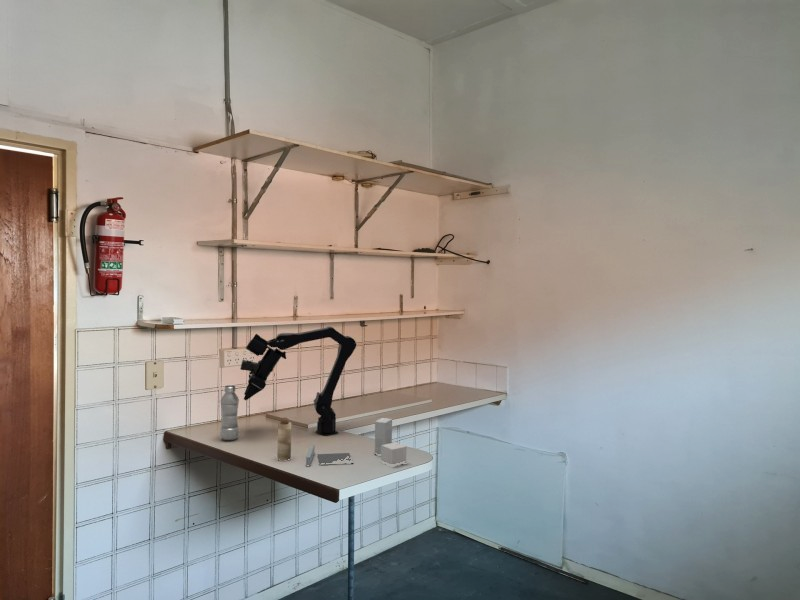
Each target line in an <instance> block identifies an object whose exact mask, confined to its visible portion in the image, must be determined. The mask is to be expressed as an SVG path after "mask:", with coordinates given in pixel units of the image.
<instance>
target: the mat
mask: <svg viewBox="0 0 800 600" xmlns="http://www.w3.org/2000/svg"><path fill="white" fill-rule="evenodd" d="M316 455H318V456H317V460H318V459H319V460H318V463H320V464H321V463H325V464H326V463H332V462H333V461H337V460H338V459H339V460H341V459H343V460H344V459H345V458H346V457H347V456H349V458H350V457H351V458H352V456H351V454H350V452H341V453H340V452H339V453H338V452H336V453H317V454H316ZM349 458H348V459H346V460H349V461H350V460H351V459H349ZM343 460H341V461H343ZM320 464H319V465H320Z"/></svg>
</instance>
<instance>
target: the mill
mask: <svg viewBox="0 0 800 600" xmlns="http://www.w3.org/2000/svg"><path fill="white" fill-rule="evenodd" d="M276 453H277V454H276V455H277V458H278V459H280V460H288V459H290V458H292V422H290V420H289V418H288V417H282V418H281V419H280V421H279V422H278V423H277V451H276ZM290 460H291V459H290ZM288 461H289V460H288Z"/></svg>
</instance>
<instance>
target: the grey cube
mask: <svg viewBox="0 0 800 600" xmlns="http://www.w3.org/2000/svg"><path fill="white" fill-rule="evenodd" d="M381 460H382V461H384V462H387V463H389V464H396V463H400V462H403V461H406V462H407V446H406V445H404V444H401V443H398V442H392V443H390V444H385V445H381V456H380V461H381Z"/></svg>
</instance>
